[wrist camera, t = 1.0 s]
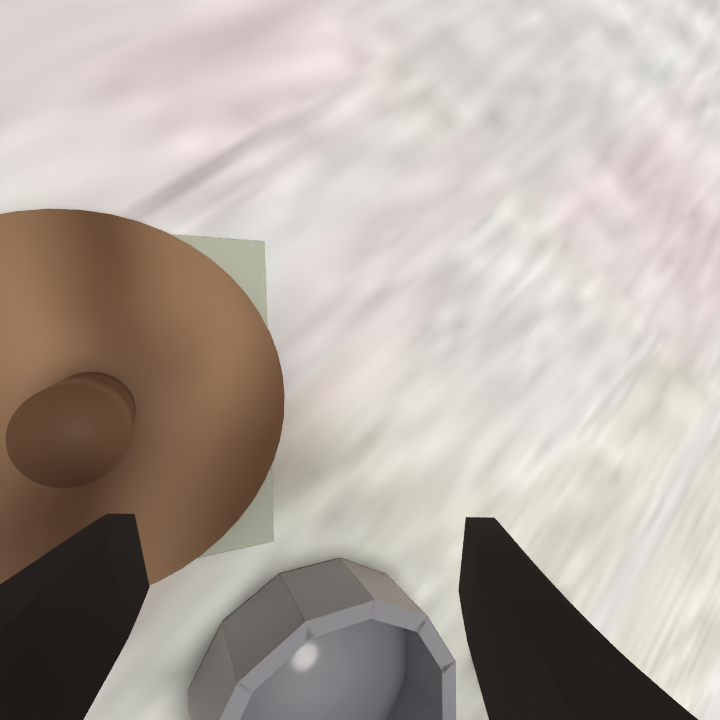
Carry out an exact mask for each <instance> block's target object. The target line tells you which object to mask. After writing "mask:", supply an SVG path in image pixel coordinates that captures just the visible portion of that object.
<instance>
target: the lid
mask: <svg viewBox="0 0 720 720" xmlns="http://www.w3.org/2000/svg"><path fill="white" fill-rule="evenodd" d="M283 418H284V387H283V376H282V371H281V366H280V362H279V358H278V353H277V351H276V348H275V345H274V342H273V340H272V337H271V334H270V332H269V330H268V328H267V326H266V324H265V322H264V320H263V318H262V317H261V315H260V313H259V311H258V310H257V308H256V307H255V306H254V304H253V303H252V301H251V300H250V298H249V297H248V296H247V294H246V293H245V292H244V291H243V290H242V288H241V287H240V286H239V285H238V284H237V283H236V282H235V281H234V280H233V278H232V277H231V276H230V275H229V274H228V273H226V272H225V271H224V270H223V269H222V268H221V267H219V266H218V265H217V264H216V263H215V262H214V261H213V260H211V259H210V258H209V257H207V256H206V255H204V254H203V253H201V252H200V251H198V250H197V249H195V248H194V247H192V246H191V245H189V244H187V243H186V242H184V241H182V240H180V239H178V238H176V237H174V236H172V235H170V234H168V233H166V232H164V231H162V230H159V229H156V228H154V227H151V226H149V225H146V224H143V223H141V222H138V221H134V220H130V219H126V218H122V217H119V216H115V215H111V214H105V213H98V212H91V211H84V210H67V209H40V210H28V211H16V212H10V213H5V214H0V584H1V583H3V582H4V581H6V580H7V579H9V578H10V577H12V576H13V575H15V574H16V573H18V572H19V571H21V570H22V569H24V568H25V567H27V566H28V565H30V564H31V563H33V562H34V561H36V560H37V559H39V558H40V557H42V556H43V555H45V554H46V553H48V552H49V551H51V550H52V549H53V548H55V547H56V546H58V545H59V544H61V543H62V542H64V541H65V540H67V539H68V538H70V537H71V536H73V535H74V534H76V533H77V532H79V531H80V530H82V529H83V528H85V527H86V526H88V525H89V524H91V523H92V522H94V521H96V520H97V519H99V518H101V517H102V516H104V515H106V514H135V518H136V522H137V527H138V532H139V537H140V542H141V547H142V552H143V557H144V562H145V567H146V571H147V576H148V581H149V585H151V584H153V583H156V582H158V581H160V580H162V579H163V578H165V577H167V576H169V575H171V574H173V573H174V572H176V571H178V570H180V569H182V568H183V567H185V566H186V565H187V564H189V563H190V562H192V561H193V560H195V559H196V558H198V557H199V556H201V555H202V554H203V553H205V552H206V551H207V550H208V549H209V548H210V547H212V546H213V545H214V544H215V543H216V542H217V541H219V540H220V539H221V538H222V537H223V536H224V535H225V534H226V533H227V532H228V531H229V530H230V529H231V527H232V526H233V525H234V524H235V523H236V522H237V521H238V520H239V519H240V517H241V516H242V515H243V513H244V512H245V511H246V509H247V508H248V507H249V505H250V504H251V503H252V501H253V500H254V498H255V497H256V495H257V493H258V491H259V490H260V488H261V486H262V485H263V483H264V481H265V479H266V477H267V474H268V472H269V470H270V468H271V465H272V463H273V461H274V458H275V454H276V451H277V447H278V444H279V441H280V436H281V430H282V424H283Z"/></svg>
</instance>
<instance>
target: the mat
mask: <svg viewBox="0 0 720 720" xmlns="http://www.w3.org/2000/svg"><path fill="white" fill-rule="evenodd" d="M172 236H174V237H176V238H178V239H180V240H182V241H184V242H186V243H187V244H189V245H191V246H192V247H194V248H195V249H197V250H198V251H200V252H201V253H203V254H204V255H206V256H207V257H209V258H210V259H211V260H213V261H214V262H215V263H216V264H217V265H218V266H219V267H221V268H222V269H223V270H224V271H225V272H226V273H228V274H229V275H230V276H231V277H232V278H233V280H234V281H235V282H236V283H237V284H238V285H239V286H240V287H241V288H242V290H243V291H244V292H245V293H246V294H247V296H248V297H249V298H250V300H251V301H252V303H253V304H254V306H255V307H256V308H257V310H258V311H259V313H260V315H261V317H262V318H263V320H264V322H265V324H266V326H267V303H266V271H265V242H264V241H250V240H236V239H223V238H209V237H195V236H182V235H172ZM272 541H274V532H273V500H272V467H271V468H270V470H269V472H268V474H267V477H266V479H265V481H264V483H263V485H262V486H261V488H260V490H259V491H258V493H257V495H256V497H255V498H254V500H253V501H252V503H251V504H250V505H249V507H248V508H247V509H246V511H245V512H244V513H243V515H242V516H241V517H240V519H239V520H238V521H237V522H236V523H235V524H234V525H233V526H232V527H231V529H230V530H229V531H228V532H227V533H226V534H225V535H224V536H223V537H222V538H221V539H220V540H219V541H217V542H216V543H215V544H214V545H213V546H212V547H210V548H209V549H208V550H207V551H206V552H205V553H203V554H202V555H201V556H199V557H198V558H200V557H205V556H209V555H214V554H218V553H223V552H227V551H232V550H236V549H241V548H245V547H250V546H254V545H259V544H263V543H268V542H272Z"/></svg>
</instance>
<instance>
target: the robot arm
mask: <svg viewBox="0 0 720 720" xmlns="http://www.w3.org/2000/svg"><path fill="white" fill-rule="evenodd" d="M149 587H150V586H149V581H148V576H147V571H146V567H145V562H144V557H143V552H142V547H141V542H140V537H139V532H138V527H137V522H136V518H135V514H106V515H104V516H102V517H101V518H99V519H97V520H96V521H94V522H92V523H91V524H89V525H88V526H86V527H85V528H83V529H82V530H80V531H79V532H77V533H76V534H74V535H73V536H71V537H70V538H68V539H67V540H65V541H64V542H62V543H61V544H59V545H58V546H56V547H55V548H53V549H52V550H51V551H49V552H48V553H46V554H45V555H43V556H42V557H40V558H39V559H37V560H36V561H34V562H33V563H31V564H30V565H28V566H27V567H25V568H24V569H22V570H21V571H19V572H18V573H16V574H15V575H13V576H12V577H10V578H9V579H7V580H6V581H4V582H3V583H1V584H0V720H83V719H84V717H85V716H86V714H87V712H88V710H89V708H90V707H91V705H92V703H93V701H94V699H95V698H96V696H97V694H98V692H99V690H100V689H101V687H102V685H103V683H104V681H105V680H106V678H107V676H108V674H109V672H110V671H111V669H112V667H113V665H114V663H115V661H116V660H117V658H118V656H119V654H120V652H121V650H122V649H123V647H124V645H125V643H126V641H127V639H128V637H129V635H130V633H131V631H132V628H133V626H134V624H135V621H136V619H137V617H138V614H139V612H140V609H141V607H142V604H143V602H144V599H145V597H146V594H147V592H148V589H149ZM459 596H460V602H461V608H462V614H463V620H464V626H465V631H466V637H467V642H468V646H469V649H470V653H471V657H472V660H473V664H474V667H475V671H476V675H477V678H478V682H479V685H480V689H481V692H482V696H483V699H484V703H485V707H486V710H487V714H488V717H489V720H698V719H697V718H695V717H694V716H693V715H692V714H691V713H689V712H688V711H687V710H686V709H684V708H683V707H682V706H681V705H680V704H678V703H677V702H676V701H675V700H674V699H673V698H671V697H670V696H669V695H668V694H667V693H666V692H665V691H663V690H662V689H661V688H660V687H659V686H658V685H657V684H655V683H654V682H653V681H652V680H651V679H650V678H648V677H647V676H646V675H645V674H644V673H643V672H642V671H640V670H639V669H638V668H637V667H636V666H635V665H634V664H633V663H631V662H630V661H629V660H628V659H627V658H626V657H625V656H624V655H623V654H622V653H621V652H620V651H618V650H617V649H616V648H615V647H614V646H613V645H612V644H611V643H610V642H609V641H608V640H607V639H606V638H605V637H604V636H603V635H602V634H601V633H600V632H599V631H598V630H597V629H596V628H595V627H594V626H593V625H592V624H591V623H590V622H589V621H588V620H587V619H586V618H585V617H584V616H583V615H582V614H581V613H580V612H579V611H578V610H577V609H576V608H575V607H574V606H573V605H572V604H571V603H570V602H569V601H568V600H567V599H566V597H565V596H564V595H563V594H562V593H561V592H560V591H559V590H558V589H557V588H556V587H555V586H554V585H553V584H552V582H551V581H550V580H549V579H548V578H547V577H546V576H545V575H544V574H543V573H542V572H541V570H540V569H539V568H538V567H537V566H536V565H535V564H534V563H533V561H532V560H531V559H530V558H529V557H528V556H527V555H526V553H525V552H524V551H523V550H522V549H521V548H520V547H519V545H518V544H517V543H516V542H515V541H514V540H513V538H512V537H511V536H510V535H509V534H508V533H507V531H506V530H505V529H504V528H503V527H502V526H501V524H500V523H499V522H498V521H497V520H496V519H495V518H480V517H466V521H465V531H464V541H463V551H462V561H461V571H460V581H459Z"/></svg>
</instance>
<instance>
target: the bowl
mask: <svg viewBox="0 0 720 720" xmlns="http://www.w3.org/2000/svg"><path fill="white" fill-rule="evenodd" d="M188 696H189V719H190V720H456V661H455V659H454V658H453V656H452V654H451V653H450V651H449V650H448V648H447V646H446V645H445V643H444V642H443V640H442V638H441V637H440V635H439V633H438V632H437V630H436V629H435V627H434V625H433V624H432V622H431V621H430V619H429V617H428V616H427V615H426V614H425V613H424V612H423V611H422V610H421V609H420V608H419V607H418V606H417V605H416V604H415V603H414V602H413V601H412V600H411V599H410V598H409V597H408V596H407V594H406V593H405V592H404V591H403V590H402V589H401V588H400V587H399V586H398V585H397V584H396V583H395V582H394V581H393V580H392V579H391V578H390V577H389V576H388V575H387V574H384V573H382V572H379V571H376V570H373V569H370V568H367V567H364V566H361V565H358V564H355V563H353V562H350V561H347V560H344V559H341V558H339V559H335V560H331V561H327V562H323V563H319V564H315V565H311V566H307V567H303V568H300V569H296V570H292V571H288V572H284V573H280V574H279V575H277V576H276V577H275V578H274V579H273V580H272V581H270V582H269V583H268V584H267V585H266V586H264V587H263V588H262V589H261V590H260V591H258V592H257V593H256V594H255V595H254V596H252V597H251V598H250V599H249V600H248V601H246V602H245V603H244V604H243V605H242V606H240V607H239V608H238V609H237V610H236V611H235V612H233V613H232V614H231V615H230V616H229V617H227V618H226V619H225V620H224V621H223V622H222V624H221V626H220V628H219V630H218V632H217V634H216V636H215V638H214V640H213V642H212V644H211V646H210V648H209V650H208V652H207V654H206V656H205V658H204V660H203V662H202V664H201V666H200V668H199V670H198V672H197V674H196V676H195V678H194V680H193V682H192V684H191V686H190V688H189V690H188Z"/></svg>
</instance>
